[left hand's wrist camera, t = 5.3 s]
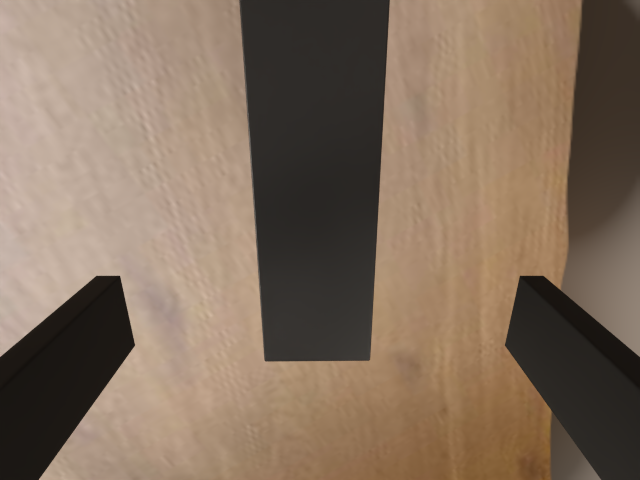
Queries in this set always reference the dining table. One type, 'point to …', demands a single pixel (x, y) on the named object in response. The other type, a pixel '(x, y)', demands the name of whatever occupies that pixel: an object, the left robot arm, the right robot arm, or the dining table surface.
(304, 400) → the dining table surface
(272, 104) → the bar
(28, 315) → the dining table surface
